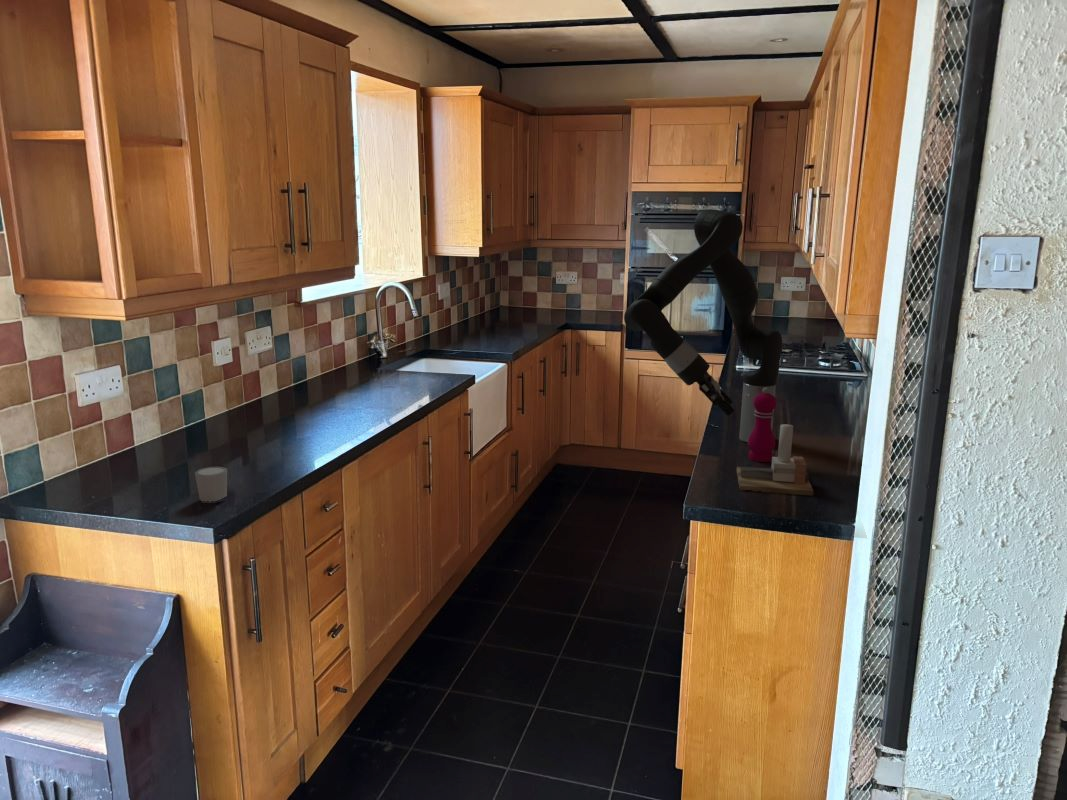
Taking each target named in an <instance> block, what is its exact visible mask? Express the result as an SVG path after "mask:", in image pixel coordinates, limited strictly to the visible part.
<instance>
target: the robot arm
mask: <svg viewBox="0 0 1067 800" xmlns="http://www.w3.org/2000/svg"><path fill="white" fill-rule="evenodd" d="M693 232H694V236H695V239H696V241H697V243H698V245H699V246H698V247H697V248H696V249H694V250H692V251H690V252H688V253H687V254H685V255H683V256H681V257H680V258H678V259H677V260H674V261H673V262H671V263H670V264H669V265H668V266H666V267H665V268H664V269H663V270H662V271H661V272H660V274H658V275H657V277H655V279H654V280H653V281H652V282H651V283H650V285H649V286H648V287H647V289H646V290H645V291H644V292H642V293H641V294H640V295H639V297H637V298H636V299H634V301H633V302H632V303H631V304H630V305H629V306H628V307H627V308H626V309H625V313H624V316H623V320H624V325H625V326H626V327H627V328H628V329H629V330H630V331H633V332H642V331H643V332H644V333H645V335H647V337H648V338H649V339H650V341H649V342H650V343H649V344H650V346H651V348H652V349H653V350H654V351H655V352H656V353H657V354H658V356H660V357H661V358H662V359H663V360H664V362H665V363H666V364H667V365H668V367H669V368H670V369H671V370H672V371H673V373H675V374H676V376H677V377H679V378H680V379H681V381H682V382H683V383H685V384H686V386H691V385H693V384H694V383H697V384H698V389H699V391H700V392H701V393H702V394H703V395H704V396H705V397H706V398H707V399H708V400H709V401H710V403H712V405H713V406H715V407H716V406H717V407H718V408H719V409H720V410H721V411H723V413H724V414H725V415H726V416H731V415H732V414H733V413H734V412H735V409H734V407H733V406H732V404H733V400H732V399H731V397H730V396H728V394H727V393H726V392H724V389H723V388H722V386H721V384H720V383H719V382H718V381H717V380H715V378H714V377H713V376H712V375H710V374H709V372H708V370H709V369H710V364H709V362H708V361H707V360H705V359H704V358H703V356H702V355H701V354H700V352H698V351H697V350H696V349H695V348H694V347H693V346H692V345H691V344H690V343H688V342H687V341H686V340H685V339H684V338H683V337H682V336H681V335H680V334H679V333H678V332H677V331H676V330H675V329H674V328H673V326H672V325H671V323H670V322H669V320H668V319H667V316H665V314H664V312H663V309H665V307H667V306H669V305H670V304H671V303H672V302H674V300H675V299H676V298H677V297H678V296H680V294H681V293H682V291H683V290H684V289H685V288H686V287H687V286H688V285H689V284H690V283H691V282H692V281H693V280H694V279H696V277H697V276H699V275H700V274H701V273H702V272H703V271H704V270H706V269H707V268H708V267H710V268H711V270H712V274H713V276H714V277H715V280H716V282H717V285H718V289H719V290H720V294H721V296H722V298H723V300H724V304H725V306H726V308H727V311H728V313H729V316H730V318H731V321H732V324H733V327H734V331H735V335H736V339H737V343H738V346H739V349H740V352H741V354H742V355H743V356H744V357H745V358H746V359H750V360H754V361H761V362H760V366H759V368H757V369H753V370H749V371H746V372H745V373H744V374H743V381H742V382H743V384H742V395H741V396H742V397H741V410H740V424H739V436H738V437H739V438H738V439H739V440H740V441H741V442H745V443H748V439H749V437H750V434H751V433H752V431H753V429H754V427H755V422H756V416H755V415H754V414H755V410H756V408H755V407H754V404H753V401H754V398H755V397H756V396H757V395H758V394H760V393H763V391H762V390H763V389H764V388H768V389H769V394H771V395H773V396H774V397H775V398H776V387H777V386H776V385H777V380H778V379H777V378H778V377H779V376H778V375H779V371H780V364H781V356H782V351H783V337H782V334H781V333H780V332H779V330H775V329H770V328H769V329H768V328H762V327H761V328H760V327H756V325H755V323H754V321H753V318H752V315H753V312H754V310H755V308H756V307H757V303H758V301H759V292H758V291H759V290H758V288H757V285H756V283H755V279H754V278H753V275H752V273H751V271H750V270H749V269H748V268H747V266H746V265H745V264H744V262H742V261H741V260H740V259H739V258H738V257H737V256H736V255H735V253H734V252H733V250H731V249H732V247H734V246H735V245H736V244H737V242H738V241H739V240H740V238H741V236H742V234H743V221H742V219H741V217H740V216H739V214H736V213H733V212H730V211H725V210H719V209H712V208H710V209H709V208H708V209H707V208H706V209H703V210H701V211H700V212H699V213H698V214H697V215H696V217H695V219H694V224H693ZM774 410H775V409H773V412H774ZM774 414H775V413H773V415H774ZM773 422H774V416H773V417H772V419H771V430H772V431H773V424H774V423H773Z"/></svg>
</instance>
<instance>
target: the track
mask: <svg viewBox="0 0 1067 800" xmlns="http://www.w3.org/2000/svg"><path fill="white" fill-rule="evenodd" d="M792 458H793V460H794V462H795V464H796V468H795V479H794V482H784V481H773V479H772V478H773V469H771V468H765V467H764V468H763V467H762V468H761V467H749V466H736V475H737V483H738V486H739V487H738V488H740V489H739V491H745V490H752V491H751V492H758V491H761V493H772V492H774V494H775V493H776V494H786V495H787V494H789V495H801V496H802V495H803V496H814V489H813V487H812V484H811V482H810V480H809V472H808V471H807V463H806V461H805V459H804V457H803V456H796V455H795V456H794V455H793V456H792Z"/></svg>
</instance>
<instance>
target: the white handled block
mask: <svg viewBox="0 0 1067 800" xmlns="http://www.w3.org/2000/svg"><path fill="white" fill-rule="evenodd" d="M793 434H794V425H793V424H787V423H785V424H784V423H783V424H780V427H779V436H778V437H779V439H778V450H777V456H772V460H771V465H770V469H773V478H772V479H773V481H784V482H794V479H795V468H796V464H795V462H794V460H793V457H791V456H792V444H793Z"/></svg>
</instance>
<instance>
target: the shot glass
mask: <svg viewBox="0 0 1067 800" xmlns="http://www.w3.org/2000/svg"><path fill="white" fill-rule="evenodd" d="M194 476H195V477H194V478H195V480H196V481H195V482H196V487H197V492H198V496H199V501H200V500H201V501H205V502H206V501H209V502H211V501H217V500H220V499H222V498H224V497H226V496H227V495H228V494H227V493H228V492H227V491H228V490H227V489H228V469H227V468H226V467H225V466H224V467H222V466H209V467H202V468H199V469H198V470H196V471H195V472H194ZM227 497H228V496H227Z"/></svg>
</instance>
